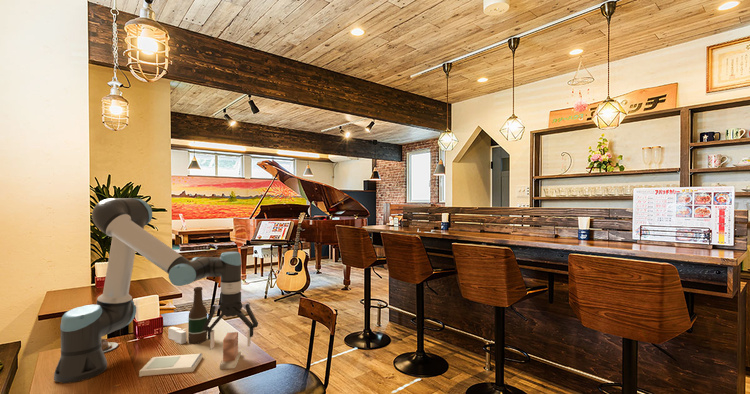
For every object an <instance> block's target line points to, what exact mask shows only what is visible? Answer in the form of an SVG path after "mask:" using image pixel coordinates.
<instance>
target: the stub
mask: <svg viewBox="0 0 750 394" xmlns="http://www.w3.org/2000/svg"><path fill="white" fill-rule="evenodd" d="M241 353H242V351H241V349H239V332H238V331H234V332H227V333H226V335H225V336H224V338H223V340H222V354H223V355H222V359H221V361H220V362H219V369H220V370H228V369H229V370H230V369H236V367H237V364H238V362H239V361H240V357H241Z"/></svg>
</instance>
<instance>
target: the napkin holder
mask: <svg viewBox="0 0 750 394" xmlns="http://www.w3.org/2000/svg"><path fill="white" fill-rule="evenodd" d="M167 334H168V336H167V338H168V339H169V340H171V341H174V343H175V344H176V343H177V344H179V345H182V344H186V343H187V331H186V330H183V328H181V327H177V326H170V327H168V332H167Z"/></svg>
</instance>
